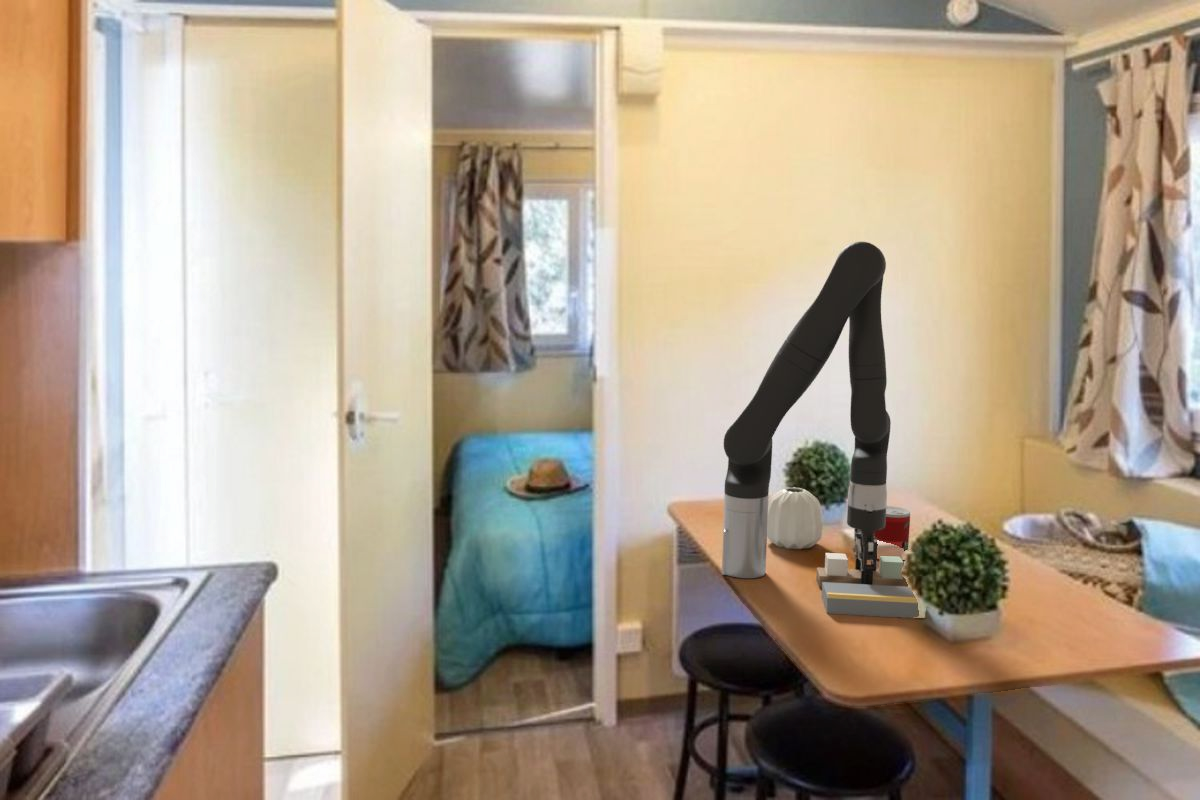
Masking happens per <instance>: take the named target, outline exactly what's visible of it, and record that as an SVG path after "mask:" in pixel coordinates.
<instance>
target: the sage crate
mask: <svg viewBox="0 0 1200 800" xmlns="http://www.w3.org/2000/svg"><path fill="white" fill-rule="evenodd" d="M878 563H879V565H878V566H879V567H878V571H879V573H880V575H881V577H882V578H888V579H903V576H902V574H901V570H902V567H903V568H904V561H902V559H901V558H900V556H880V560H879V562H878Z"/></svg>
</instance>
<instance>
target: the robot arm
mask: <svg viewBox="0 0 1200 800" xmlns="http://www.w3.org/2000/svg"><path fill="white" fill-rule="evenodd" d="M836 257H837V258H836V259H835V262H834V265H833V266H832V269H831V271H830V273H829V275H828V276H827V278H826V281H825V283H824V284H823V286H822V288H821V289H820V292H819V293H818V295H817V296H816V298H815V299H814V300H813V302H812V304H811V305H810V306H809V307H808V309H806V311H805V312H804V313H803V315H802V316H801V318H800V319H799V320H798V321H797V323H796V324H795V326H794V327H793V328H792V330H791V331H790V333H789V334H788V335H787V337H786V338H785V340H784V342H783V343H782V345H781V347H780V348H779V350H778V351H777V352H776V355H775V357H774V358H773V360H772V361H771V363H770V365H769V367H768V368H767V371H766V372H765V374H764V376H763V378H762V381H761V383H760V384H759V386H758V389H757V390H756V393H755V394H754V396H753V397H752V399H751V400H750V401H749V403H748V404H747V405H746V407H745V408H744V409H743V411H742V412H741V413H740V414H739V416H738V417H737V418H736V420H735V421H734V422H733V423H732V425H730V426H729V428H728V429H727V430H726V431H725V434H724V437H723V450H724V453H725V455H726V457H727V458H728V459H727V460H728V461H727V471H726V477H725V479H724V496H723V498H724V501H723V502H724V503H723V524H722V525H723V526H722V527H723V528H722V552H721V553H722V558H721V559H722V561H721V575H722V576H729V577H733V578H738V579H756V578H761V577H764V576H765V575H766V570H767V568H766V567H767V548H768V547H767V544H768V542H767V539H768V537H767V521H768V501H769V495H770V494H769V492H770V491H769V489H770V481H771V476H772V475H771V474H772V463H773V462H772V461H773V437H774V435H775V433H776V431H777V429H778V427H779V425H780V423H781V422H782V421H783V419H784V418H785V416H786V415H787V413H788V412H789V411H790V410H791V408H792V407H793V406H794V405H795V404H796V403H797V402H798V400H799V399H801V397H802V396H803V394H805V392H807V390H808V388H809V387H810V386H811V385H812V384H813V382H814V381H815V380H816V378H817V377H818V375H819V374H820V372H821V371H822V369H823V367H824V366H825V364H826V363H827V362H828V360H829V358H830V356H831V354H832V353H833V350H834V349H835V347H836V345H837V343H838V341H839V339H840V337H841V334H842V332H843V330H844V327H845V326H846V323H847V321H849V323H848V325H849V327H848V329H849V330H848V367H849V368H848V369H849V383H850V390H851V391H850V392H851V394H850V411H849V413H850V414H849V415H850V429H851V432H852V434H853V436H854V448H853V449H854V450H853V451H854V452H853V455H852V457H851V463H850V479H849V487H848V493H847V494H848V495H847V496H848V497H847V515H846V516H847V517H846V524H847V525H848V527H850V528H852V529H854V532H853V533H854V534H853V548H852V550H853V552H854V553H853V554H854V555H853V556H854V558H855V565H854V569H855V570H861V584H867V585H872V582H873V571H877V560H878V559H877V546H878V544H877V538H875V534H874V531H876V530H881V529H883V528H884V527H885V525H886V506H887V499H888V491H887V479H888V478H887V477H888V476H887V473H888V451H889V442H890V434H891V425H892V424H891V423H892V422H891V418H890V414H889V413H888V411H887V405H886V390H887V378H888V377H887V363H886V352H885V351H886V350H885V342H884V333H883V332H884V331H883V324H882V322H883V321H882V291H883V282H884V275H885V272H886V268H887V267H886V266H887V262H886V258H885V255H884V253H883V251H882V250H881V249H880V248H879V247H878V246H876V245H874V244H873V243H871V242H867V241H855V242H852V243H849V244H848V245H846V246H845V247H844V248H843V249H841V251H840V253H838V256H836ZM868 561H870V564H868Z"/></svg>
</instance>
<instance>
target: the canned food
mask: <svg viewBox="0 0 1200 800" xmlns="http://www.w3.org/2000/svg"><path fill="white" fill-rule="evenodd" d="M910 523H911V511H910V510H908V509H906V508H903V507H899V506H890V505H888V506H887V505H886V525H885V527H884V528H883V529H881V530H876V531H874V534H875V538H877V540H879V541H883V542H886V543H891V544H894V545H897V546H899V547H900V548H903V549H904V551H905V550H907V549H908V550H909V542H910V541H909V540H910V539H909V538H910V529H911V528H910V525H911V524H910Z"/></svg>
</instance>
